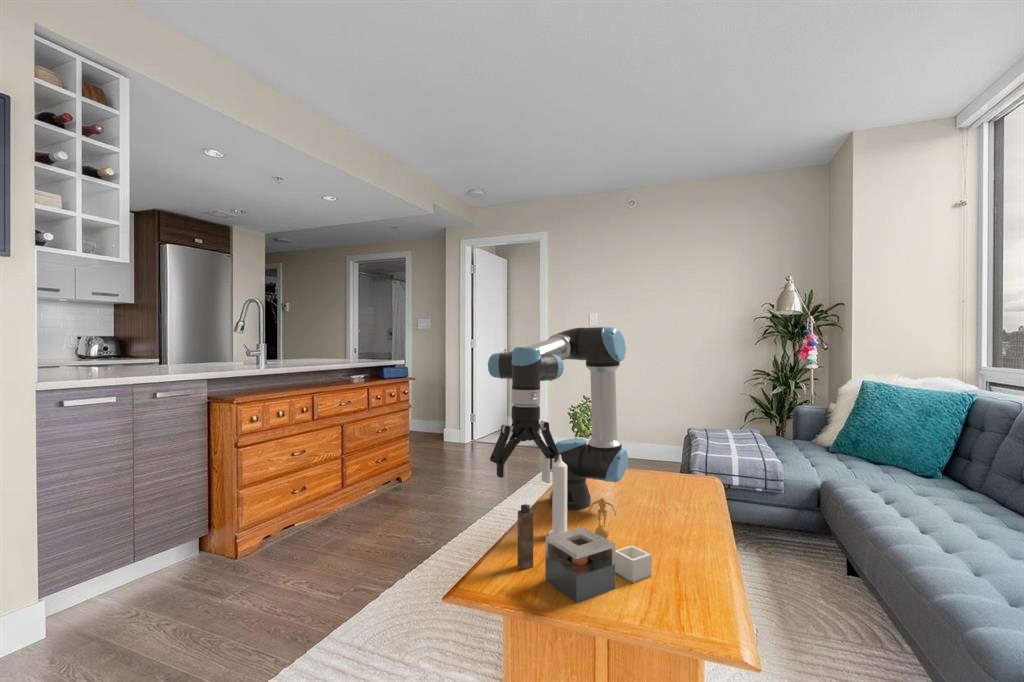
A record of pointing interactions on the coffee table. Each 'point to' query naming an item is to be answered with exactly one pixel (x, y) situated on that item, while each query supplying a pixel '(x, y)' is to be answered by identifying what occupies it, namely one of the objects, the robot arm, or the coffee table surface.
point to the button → (580, 561)
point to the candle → (559, 497)
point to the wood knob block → (525, 537)
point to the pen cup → (632, 563)
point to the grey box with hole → (584, 578)
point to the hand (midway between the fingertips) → (525, 485)
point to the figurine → (602, 529)
